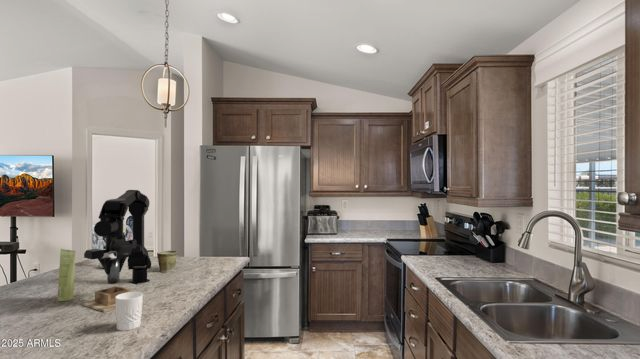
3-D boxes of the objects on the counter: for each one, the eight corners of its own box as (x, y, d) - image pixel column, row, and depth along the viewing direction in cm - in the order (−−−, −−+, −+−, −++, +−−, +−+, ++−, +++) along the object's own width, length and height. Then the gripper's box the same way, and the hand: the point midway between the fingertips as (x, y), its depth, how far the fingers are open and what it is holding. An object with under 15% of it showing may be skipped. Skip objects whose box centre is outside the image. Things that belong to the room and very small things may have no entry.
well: (82, 305, 128) (83, 292, 128) (119, 294, 140) (120, 283, 140) (104, 312, 121) (104, 298, 121) (141, 300, 133) (141, 288, 134)
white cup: (121, 321, 113) (122, 291, 113) (146, 321, 114) (147, 291, 114) (109, 332, 105) (110, 299, 105) (135, 331, 106) (136, 299, 106)
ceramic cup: (172, 273, 175) (172, 254, 175) (152, 273, 175) (153, 253, 175) (182, 267, 188) (183, 249, 188) (164, 267, 188) (165, 249, 188)
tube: (76, 296, 137) (77, 248, 138) (73, 300, 133) (75, 250, 133) (59, 298, 135) (60, 248, 135) (55, 302, 130) (57, 251, 130)
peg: (104, 282, 130) (105, 259, 130) (115, 280, 134) (116, 257, 134) (111, 284, 128) (111, 260, 128) (121, 281, 132) (122, 258, 132)
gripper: (101, 237, 119) (100, 282, 119) (150, 231, 136) (149, 270, 135) (83, 234, 124) (82, 277, 124) (132, 229, 141) (131, 267, 141)
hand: (113, 273), depth 131 cm, fingers closed on peg, 4 cm apart
